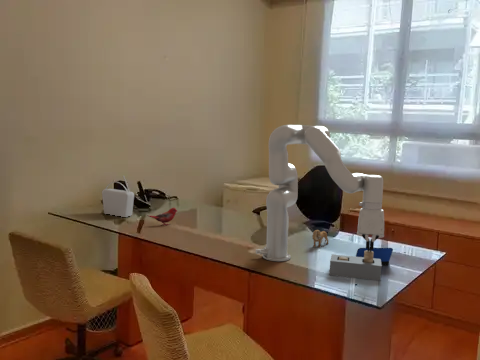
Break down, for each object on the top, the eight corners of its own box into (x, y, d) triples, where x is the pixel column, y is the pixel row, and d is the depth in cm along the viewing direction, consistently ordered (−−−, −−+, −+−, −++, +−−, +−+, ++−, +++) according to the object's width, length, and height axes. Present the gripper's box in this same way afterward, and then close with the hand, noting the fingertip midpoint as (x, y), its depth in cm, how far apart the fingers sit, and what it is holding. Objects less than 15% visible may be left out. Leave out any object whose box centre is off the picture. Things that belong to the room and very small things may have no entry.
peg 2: (363, 266, 197) (364, 252, 197) (363, 264, 201) (364, 250, 200) (372, 267, 197) (373, 253, 196) (372, 265, 200) (373, 250, 199)
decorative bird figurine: (178, 225, 279) (178, 207, 277) (147, 226, 272) (147, 209, 271) (177, 224, 281) (177, 207, 280) (146, 225, 275) (146, 208, 273)
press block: (329, 275, 198) (330, 260, 197) (331, 267, 208) (331, 254, 207) (380, 280, 193) (381, 265, 192) (379, 272, 203) (380, 258, 202)
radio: (136, 216, 298) (136, 176, 295) (126, 218, 291) (126, 177, 288) (111, 211, 310) (111, 172, 307) (101, 213, 303) (100, 174, 300)
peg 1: (337, 273, 200) (338, 259, 200) (338, 270, 204) (339, 256, 203) (346, 274, 199) (347, 259, 199) (347, 271, 203) (348, 257, 202)
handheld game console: (381, 259, 223) (383, 240, 222) (392, 268, 210) (394, 248, 209) (348, 259, 222) (349, 239, 221) (356, 268, 209) (358, 247, 208)
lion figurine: (319, 249, 236) (320, 231, 235) (309, 247, 239) (310, 229, 237) (330, 243, 249) (331, 225, 248) (320, 241, 251) (321, 224, 250)
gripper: (352, 206, 194) (350, 251, 196) (392, 208, 190) (389, 254, 192) (353, 203, 201) (350, 246, 203) (391, 205, 197) (388, 249, 200)
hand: (369, 250), depth 198 cm, fingers closed
